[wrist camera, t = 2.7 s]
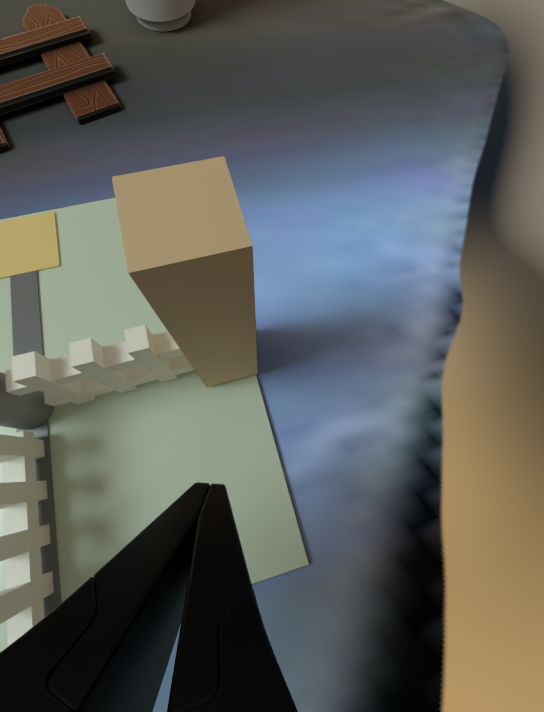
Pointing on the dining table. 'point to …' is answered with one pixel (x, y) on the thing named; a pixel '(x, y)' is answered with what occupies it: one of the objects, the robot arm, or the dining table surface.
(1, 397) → the fixed fence
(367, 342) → the dining table surface
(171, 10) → the energy drink can
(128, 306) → the mat
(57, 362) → the gate
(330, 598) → the dining table surface
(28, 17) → the decorative fence
